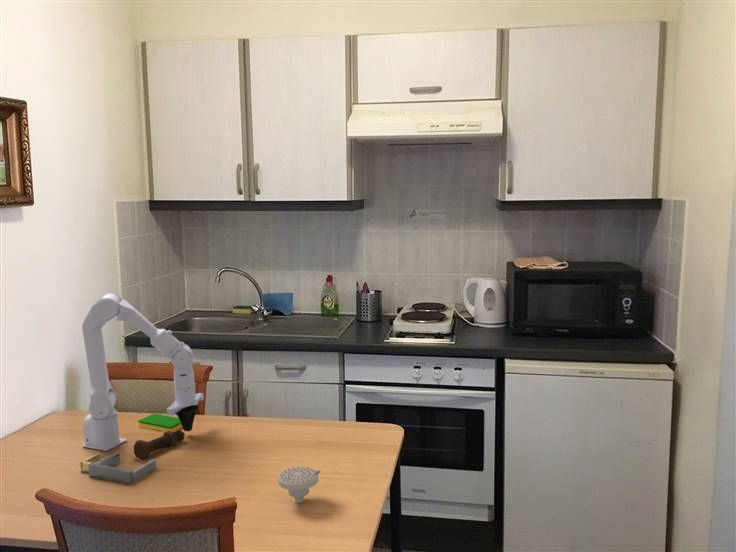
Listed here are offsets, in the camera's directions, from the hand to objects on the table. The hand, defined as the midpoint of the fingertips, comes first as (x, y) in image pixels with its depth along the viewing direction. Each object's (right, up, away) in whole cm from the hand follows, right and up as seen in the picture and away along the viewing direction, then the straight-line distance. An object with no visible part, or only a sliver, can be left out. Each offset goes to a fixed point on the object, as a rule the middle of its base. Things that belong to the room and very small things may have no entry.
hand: (187, 430), depth 195 cm
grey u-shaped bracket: (-10, -5, -23) cm, 26 cm away
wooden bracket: (-19, -5, -20) cm, 28 cm away
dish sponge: (-10, -1, +9) cm, 14 cm away
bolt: (-5, -4, -10) cm, 11 cm away
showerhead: (+38, -7, -42) cm, 57 cm away
